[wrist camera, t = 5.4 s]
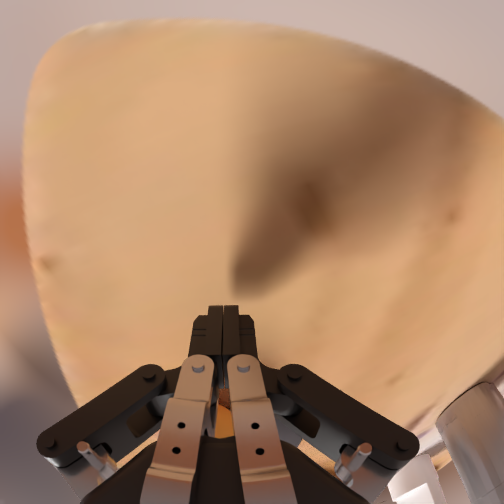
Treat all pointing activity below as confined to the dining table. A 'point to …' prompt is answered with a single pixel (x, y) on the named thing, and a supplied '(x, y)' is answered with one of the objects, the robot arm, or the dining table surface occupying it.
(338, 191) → the dining table surface
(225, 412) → the ball
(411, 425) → the dining table surface
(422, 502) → the cylinder with rectangular tab
